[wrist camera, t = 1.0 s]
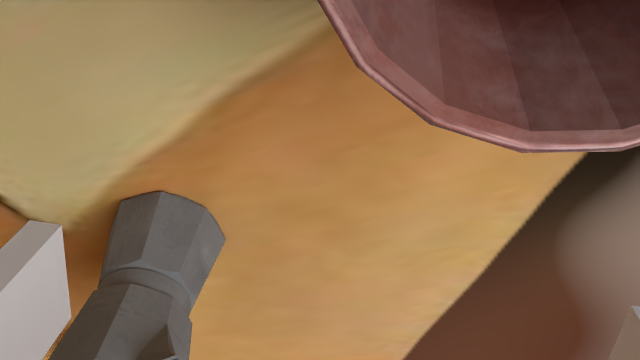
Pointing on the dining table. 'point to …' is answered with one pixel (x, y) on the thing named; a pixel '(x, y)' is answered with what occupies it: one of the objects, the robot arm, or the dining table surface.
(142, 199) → the coffeepot
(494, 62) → the pottery
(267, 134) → the dining table surface
